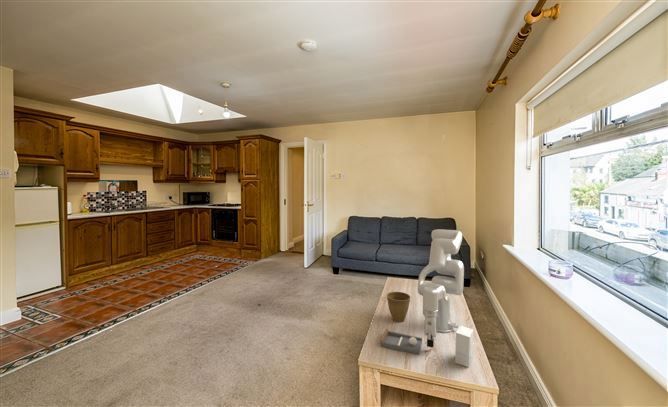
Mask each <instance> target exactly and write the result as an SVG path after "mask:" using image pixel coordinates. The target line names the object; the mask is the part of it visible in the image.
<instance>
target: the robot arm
mask: <svg viewBox="0 0 668 407" xmlns="http://www.w3.org/2000/svg"><path fill="white" fill-rule="evenodd" d="M431 239H432V241H431V242H430V243H431V245H430V253H429V260H428V261H429V262H428V264H427V265H426V266H424V267H423V268H422V270H421V271H420V274H419V275H418V280H417V281H418V282H417V293H418V294H419V295H420V296H422V316H424V328H425V329H424V333H425V336H426V346H427V347H428V348H434V345H435V344H434V342H435V341H434V340H435V339H434V338H436V335H437V332H438V333H443V334H444V333H450V332H452V331H453V330H454V329H458V328H459V325H458V324H457V323H456V322H452V320H451V300H450V297H449V296H448V295H453V296H461V295H462V294H463V291H464V283H465V282H464V281H465V280H464V278H465V266H464V263H463V261H461V260H460V259H459V260H458V259H452V255H456V254H458V253H459V250H460V248H461V245H462V242H463V233H462V232H461V231H460V230H456V229H442V228H441V229H440V228H439V229H433V230H432V231H431ZM434 271H436V273H438V274H440V275H435V276H433V277H432V279H431V282H426V281H425V280H426V277H427V275H429V274H430V273H432V272H434ZM443 275H447V276H443ZM449 276H453V277H449Z"/></svg>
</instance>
